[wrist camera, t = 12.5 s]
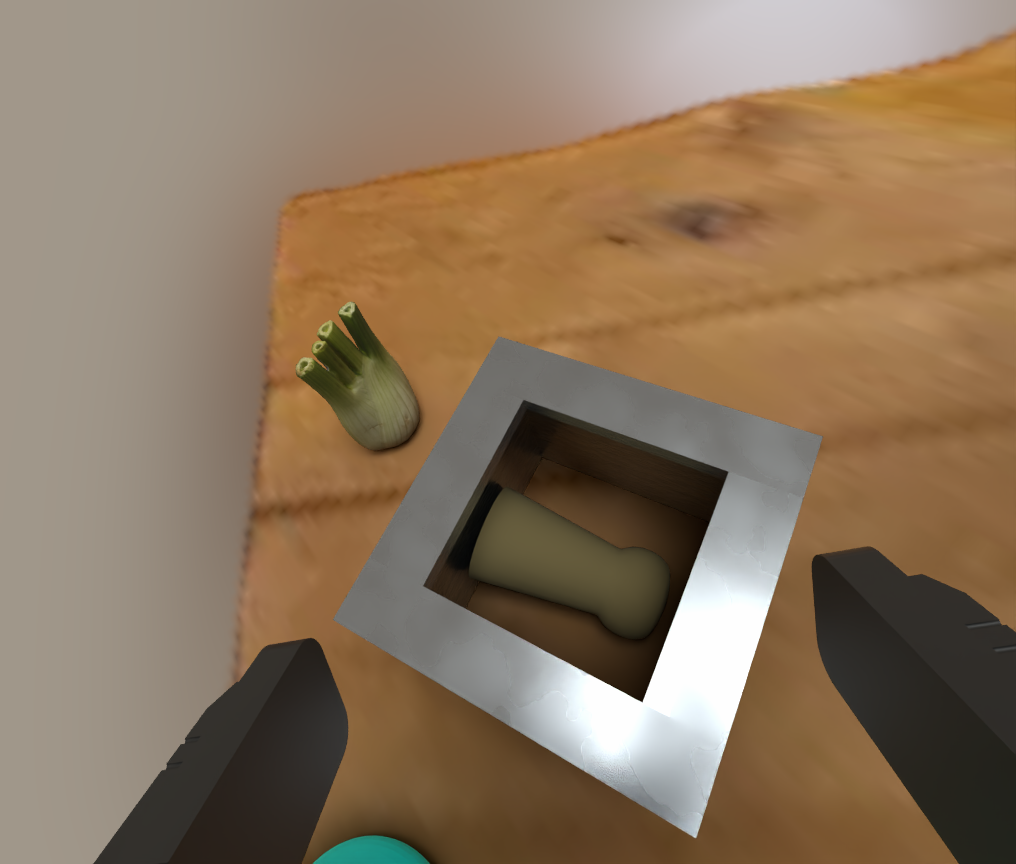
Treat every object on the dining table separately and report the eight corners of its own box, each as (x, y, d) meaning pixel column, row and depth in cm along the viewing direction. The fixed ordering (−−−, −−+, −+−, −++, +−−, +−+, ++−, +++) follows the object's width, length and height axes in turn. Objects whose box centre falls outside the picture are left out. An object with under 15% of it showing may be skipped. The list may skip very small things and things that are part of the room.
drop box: (535, 441, 40) (498, 336, 29) (759, 525, 35) (822, 436, 23) (428, 648, 35) (333, 619, 24) (670, 788, 30) (696, 838, 18)
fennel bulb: (412, 386, 45) (346, 288, 35) (442, 427, 43) (380, 335, 32) (353, 426, 44) (267, 338, 34) (379, 470, 42) (296, 390, 32)
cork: (511, 504, 38) (666, 566, 35) (474, 586, 35) (638, 659, 33) (507, 472, 32) (690, 543, 30) (463, 567, 30) (658, 652, 28)
